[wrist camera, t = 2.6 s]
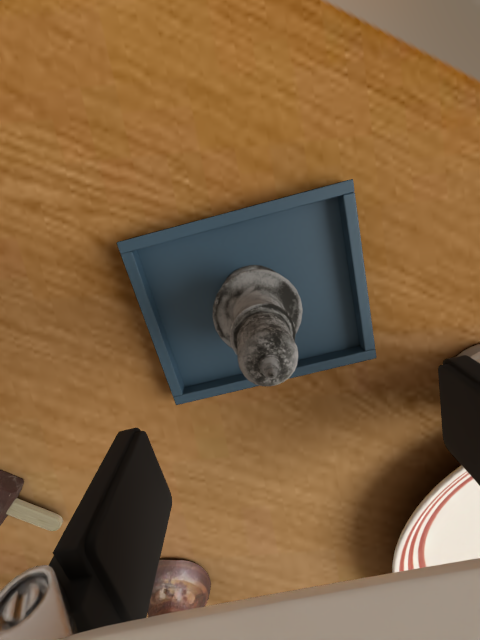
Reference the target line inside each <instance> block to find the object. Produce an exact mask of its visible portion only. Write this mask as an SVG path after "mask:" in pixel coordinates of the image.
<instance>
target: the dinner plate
mask: <svg viewBox="0 0 480 640" xmlns="http://www.w3.org/2000/svg"><path fill="white" fill-rule="evenodd" d="M477 558H480V485H479V484H478V483H477V482H476V481H475V480H474V479H473V478H472V476H471V475H470V474H469V473H468V472H467V471H466V470H465V468H464V467H463V466H462V465H461V466H460V467H458V468H457V469H456V470H454V471H453V472H452V473H450V474H449V475H448V476H447V477H446V478H445V479H443V480H442V481H441V482H440V483H439V484H438V485H436V486H435V487H434V488H433V490H432V491H431V492H430V493H429V494H428V495H427V496H426V497H425V498H424V499H423V501H422V502H421V503H420V504H419V505H418V507H417V508H416V510H415V511H414V512H413V514H412V515H411V517H410V518H409V520H408V521H407V523H406V525H405V527H404V529H403V530H402V533H401V535H400V538H399V540H398V543H397V545H396V548H395V552H394V557H393V565H392V573H395V572H400V571H406V570H412V569H418V568H424V567H430V566H436V565H441V564H447V563H453V562H459V561H465V560H471V559H477Z"/></svg>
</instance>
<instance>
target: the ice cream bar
mask: <svg viewBox="0 0 480 640" xmlns="http://www.w3.org/2000/svg"><path fill="white" fill-rule="evenodd" d="M23 483H24V480H23V479H22V478H19V477H17V476H14V475H12V474H9V473H7V472H5V471H2V470H0V525H1V524H2V523H3V521H4V520H5V518H6V517H7V515H10V516H12V517H15V518H18V519H20V520H23V521H26V522H28V523H31V524H33V525H36V526H39V527H41V528H44V529H46V530H50V531H56V530H58V529H59V528H60V527H61V525H62V523H63V519H62V517H61V516H60V515H58V514H56V513H53V512H51V511H48V510H46V509H43V508H40V507H38V506H35V505H33V504H30V503H28V502H25V501H23V500H20V499H18V498H17V497H18V495H19V493H20V492H21V489H22V486H23Z"/></svg>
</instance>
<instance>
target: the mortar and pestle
mask: <svg viewBox="0 0 480 640" xmlns="http://www.w3.org/2000/svg"><path fill="white" fill-rule="evenodd" d="M210 587H211V581H210V578H209V575H208V573H207V572H206V571H205V570H204V569H203V568H202V567H201V566H199V565H197V564H195V563H193V562H190V561H185V560H159V564H158V568H157V573H156V577H155V581H154V586H153V590H152V595H151V599H150V603H149V608H148V617H152V616H157V615H162V614H167V613H172V612H178V611H183V610H189V609H194V608H200V607H205V605H206V603H207V600H208V598H209V593H210Z"/></svg>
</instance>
